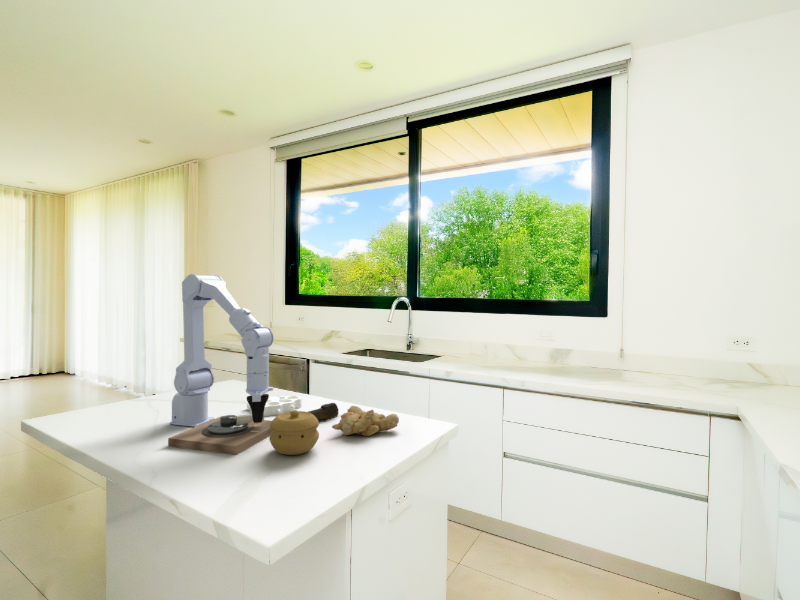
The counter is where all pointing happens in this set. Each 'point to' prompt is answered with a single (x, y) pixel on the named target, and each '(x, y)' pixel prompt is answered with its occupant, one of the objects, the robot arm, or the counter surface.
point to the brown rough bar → (325, 411)
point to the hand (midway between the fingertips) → (257, 422)
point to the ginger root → (365, 422)
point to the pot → (294, 432)
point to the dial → (231, 424)
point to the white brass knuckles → (281, 405)
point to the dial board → (221, 438)
